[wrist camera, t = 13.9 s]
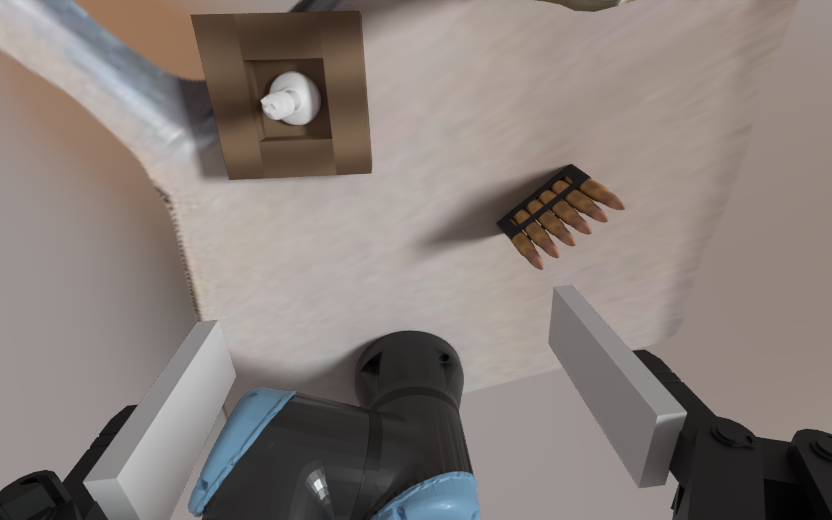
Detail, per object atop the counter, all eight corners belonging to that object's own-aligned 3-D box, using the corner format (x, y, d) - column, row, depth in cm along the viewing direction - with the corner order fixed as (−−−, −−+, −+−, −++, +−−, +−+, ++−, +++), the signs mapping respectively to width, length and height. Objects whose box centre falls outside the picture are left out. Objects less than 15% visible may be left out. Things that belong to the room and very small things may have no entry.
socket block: (372, 164, 44) (371, 173, 41) (241, 170, 43) (229, 179, 40) (361, 15, 38) (359, 11, 34) (208, 19, 37) (190, 14, 34)
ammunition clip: (571, 163, 46) (628, 194, 35) (579, 175, 47) (638, 208, 36) (496, 223, 49) (528, 268, 38) (504, 233, 49) (539, 281, 38)
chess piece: (294, 134, 41) (267, 155, 32) (259, 92, 39) (220, 101, 30) (331, 105, 40) (314, 117, 31) (297, 60, 38) (269, 59, 29)
